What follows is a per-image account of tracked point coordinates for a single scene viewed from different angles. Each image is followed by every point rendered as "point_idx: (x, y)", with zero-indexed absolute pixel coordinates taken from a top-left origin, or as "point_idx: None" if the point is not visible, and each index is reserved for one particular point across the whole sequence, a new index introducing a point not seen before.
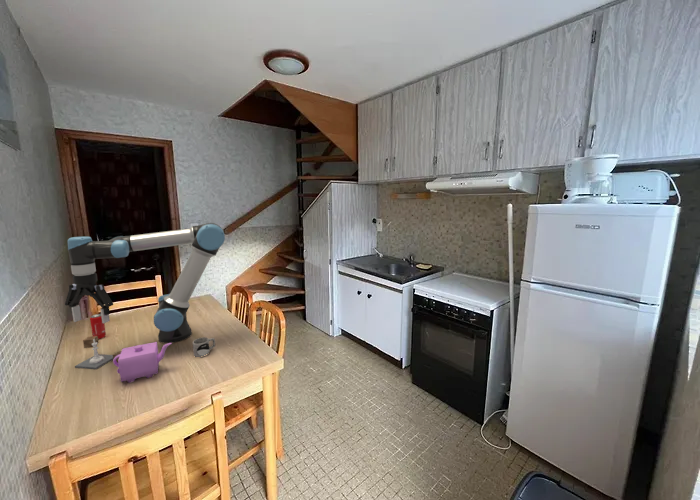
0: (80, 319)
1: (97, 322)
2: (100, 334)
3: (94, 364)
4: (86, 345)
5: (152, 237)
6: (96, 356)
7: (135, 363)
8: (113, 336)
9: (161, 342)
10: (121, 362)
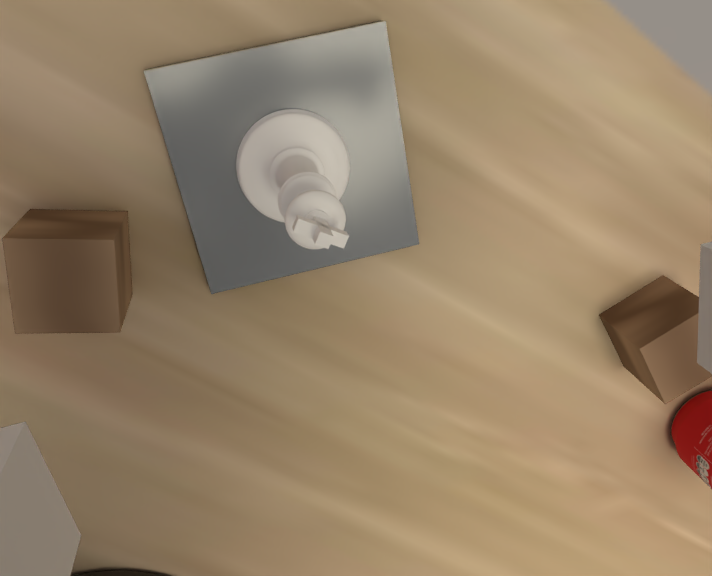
0: (704, 349)
1: None
2: (697, 437)
3: (228, 107)
4: (658, 295)
5: None
6: (281, 170)
7: None
8: (614, 472)
9: (104, 572)
10: None
